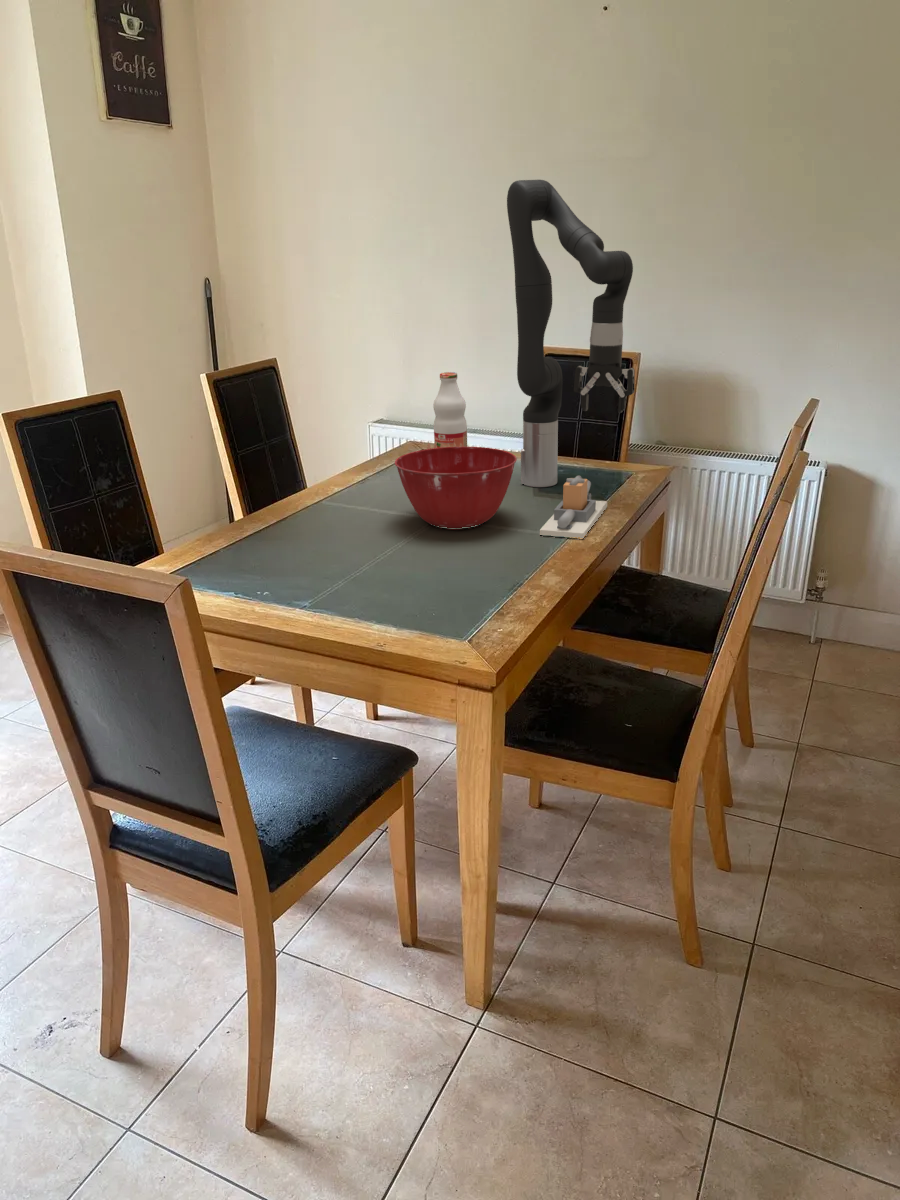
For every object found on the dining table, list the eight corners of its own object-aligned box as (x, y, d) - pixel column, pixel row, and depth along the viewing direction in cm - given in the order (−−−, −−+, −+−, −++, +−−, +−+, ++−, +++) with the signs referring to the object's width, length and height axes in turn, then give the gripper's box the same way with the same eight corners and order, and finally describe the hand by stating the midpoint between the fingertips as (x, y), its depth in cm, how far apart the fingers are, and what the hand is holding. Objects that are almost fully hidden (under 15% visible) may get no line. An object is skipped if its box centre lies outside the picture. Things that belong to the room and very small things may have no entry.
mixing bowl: (414, 503, 232) (411, 443, 226) (524, 506, 227) (524, 445, 221) (384, 538, 207) (380, 472, 201) (508, 542, 201) (507, 474, 195)
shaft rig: (539, 536, 204) (539, 505, 201) (567, 504, 226) (567, 476, 224) (583, 539, 201) (584, 508, 198) (607, 507, 223) (607, 478, 220)
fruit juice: (474, 470, 261) (472, 372, 251) (454, 477, 254) (451, 376, 244) (449, 466, 267) (445, 370, 256) (428, 473, 260) (424, 374, 249)
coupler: (569, 510, 216) (570, 474, 213) (586, 511, 215) (587, 475, 212) (562, 518, 211) (563, 481, 207) (580, 519, 209) (581, 482, 206)
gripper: (639, 341, 212) (635, 410, 219) (580, 339, 217) (578, 406, 224) (633, 345, 206) (628, 416, 212) (572, 343, 211) (569, 412, 217)
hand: (602, 411), depth 218 cm, fingers open, 8 cm apart
